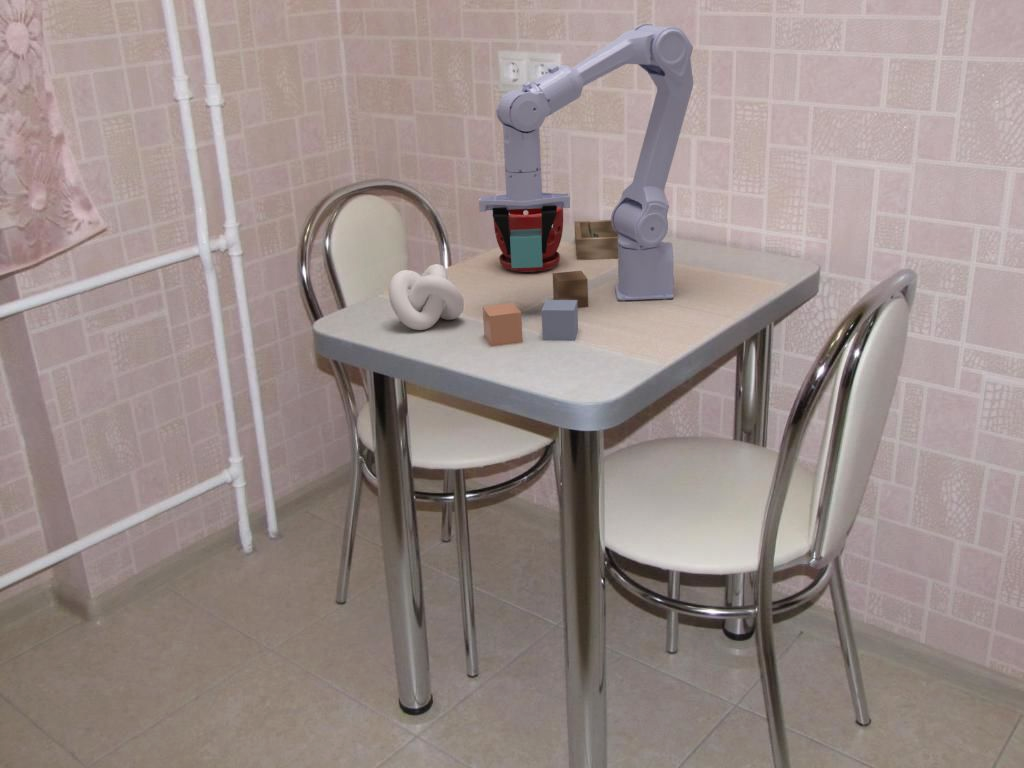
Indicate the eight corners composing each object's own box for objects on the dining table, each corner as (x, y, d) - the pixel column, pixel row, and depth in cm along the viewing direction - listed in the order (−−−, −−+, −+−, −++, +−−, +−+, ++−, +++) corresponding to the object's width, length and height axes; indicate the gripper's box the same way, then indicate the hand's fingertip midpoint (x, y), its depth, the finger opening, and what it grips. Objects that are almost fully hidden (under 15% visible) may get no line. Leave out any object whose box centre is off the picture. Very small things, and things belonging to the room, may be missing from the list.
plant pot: (482, 267, 203) (478, 205, 198) (533, 253, 211) (531, 193, 206) (527, 281, 194) (524, 216, 189) (579, 265, 201) (577, 203, 197)
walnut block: (581, 298, 183) (581, 270, 181) (588, 307, 179) (587, 278, 177) (553, 301, 183) (552, 273, 181) (559, 310, 178) (558, 281, 176)
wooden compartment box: (643, 237, 217) (643, 218, 215) (650, 257, 204) (650, 236, 202) (575, 240, 217) (574, 221, 216) (577, 259, 204) (576, 239, 203)
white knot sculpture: (478, 313, 178) (475, 262, 175) (447, 338, 168) (443, 284, 165) (418, 308, 182) (413, 258, 179) (384, 332, 172) (379, 279, 169)
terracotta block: (514, 332, 169) (513, 302, 167) (522, 342, 165) (521, 312, 163) (484, 336, 168) (482, 306, 166) (491, 346, 164) (489, 316, 162)
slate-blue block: (578, 329, 169) (577, 300, 167) (574, 341, 164) (573, 310, 162) (546, 329, 170) (545, 299, 168) (542, 340, 165) (541, 310, 163)
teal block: (542, 258, 176) (541, 228, 174) (542, 267, 171) (541, 236, 169) (512, 259, 176) (510, 230, 174) (511, 268, 172) (510, 238, 170)
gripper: (568, 162, 171) (570, 244, 177) (478, 166, 172) (483, 247, 177) (569, 171, 165) (571, 255, 170) (476, 175, 165) (481, 259, 171)
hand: (526, 252), depth 173 cm, fingers closed on teal block, 5 cm apart
